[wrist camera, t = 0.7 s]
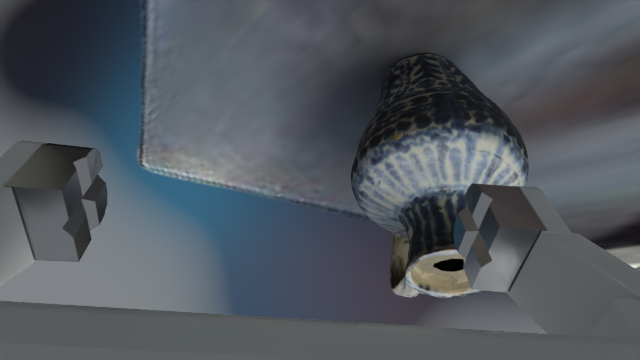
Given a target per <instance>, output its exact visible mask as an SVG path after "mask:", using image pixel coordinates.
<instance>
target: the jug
mask: <svg viewBox="0 0 640 360" xmlns="http://www.w3.org/2000/svg"><path fill="white" fill-rule="evenodd" d="M528 169H529V165H528V156H527V151H526V148H525V145H524V142H523V139H522V137H521V135H520V134H519V132H518V130H517V129H516V127H515V126H514V125H513V123H512V122H511V121H510V119H509V118H508V117H507V116H506V114H505V113H504V112H503V111H502V110H501V109H500V108H499V107H498V106H497V105H496V104H495V103H494V102H492V101H491V100H490V99H489V98H487V97H486V96H485V95H484V94H483V93H481V92H480V91H479V89H478V88H477V87H476V86H475V85H474V84H473V82H472V81H471V80H470V79H469V78H468V77H467V76H465V75H464V74H463V73H462V72H461V71H460V70H459V69H458V68H457V67H456V66H455V65H454V64H453V63H452V62H451V61H449V60H448V59H445V58H442V57H439V56H435V55H431V54H424V55H417V56H414V57H411V58H406V59H404V60H402V61H400V62H398V63H397V64H396V65H395V66H394V67H393V68H391V69H390V70H389V71H388V72H387V73H386V75H385V77H384V79H383V84H382V89H381V98H380V101H379V104H378V106H377V108H376V111H375V114H374V116H373V117H372V119H371V120H370V122H369V124H368V126H367V128H366V129H365V131H364V134H363V136H362V138H361V140H360V143H359V146H358V151H357V155H356V158H355V161H354V163H353V167H352V172H351V184H352V190H353V193H354V195H355V198H356V200H357V202H358V205H359V206H360V208H361V209H362V210H363V212H364V213H365V214H366V215H367V216H368V217H369V218H370V219H371V220H373V221H374V222H375V223H376V224H378V225H379V226H381V227H383V228H385V229H387V230H389V231H390V232H391V233H392V235H393V240H394V241H393V249H392V256H391V265H390V283H391V289H392V290H393V291H394V293H395V294H396V295H401V296H404V297H407V296H408V297H416V296H417V295H418V294H419V293H423V294H427V295H431V296H436V297H440V298H449V297H452V296H454V295H456V296H467V295H470V294H475V293H478V292H480V291H482V290H476V289H471V287H470V284H469V281H468V279H467V276H466V274H465V271H464V268H463V265H464V263H465V260H466V259H465V258H464V257H462V256H461V255H460V254H459V253H458V252H457V250H456V247H455V244H454V236H453V235H454V224H455V221H456V218H457V215H458V213H459V212H460V211H461V210H463V209H464V208H465V207H467V206H468V205H467V203H466V201H465V199H464V197H465V194H466V192H467V189H468V188H469V186H470V185H471V184H472V183H475V184H489V185H503V186H524V187H525V185H526V182H527V179H528Z"/></svg>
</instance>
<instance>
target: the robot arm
mask: <svg viewBox="0 0 640 360" xmlns="http://www.w3.org/2000/svg"><path fill="white" fill-rule="evenodd" d="M102 167H103V164H102V160H101V155H100V152H99V151H98V150H97V149H96V148H89V147H80V146H70V145H62V144H53V143H44V142H32V141H18V142H15V143H14V144H13V145H12V146H11V147H10V148H9V149H8V150H7V151H6V152H5V153H4V154H3V155H2V156H1V157H0V286H1V285H2V284H4V283H5V282H7V281H8V280H10V279H11V278H13V277H14V276H15V275H17V274H18V273H20V272H21V271H23V270H24V269H25V268H27V267H28V266H30V265H31V264H33V263H34V262H35V261H34V260H47V261H70V262H79V261H80V259H81V257H82V255H83V253H84V252H85V250H86V248H87V247H88V245H89V243H90V241H91V234H90V230H91V229H93V228H95V227H97V226H98V225H100V223H101V221H102V219H103V217H104V214H105V210H106V206H107V188H106V183H105V182H104V181H103V180H102V179H101V178H100V177H99V176H98V173H99V171H100V170H101V168H102ZM464 199H465V201H466V203H467V205H468V206H467V207H465V208H464V209H463V210H461V211H460V212H459V213H458V215H457V218H456V221H455V224H454V235H453V236H454V244H455V247H456V250H457V252H458V253H459V254H460V255H461V256H462V257H464V258H465V259H466V260H465V263H464V265H463V268H464V271H465V274H466V276H467V279H468V281H469V284H470V287H471V289H476V290H486V291H497V292H507V293H508V295H509V296H510V297H511V298H512V299H513V300H514V301H515V302H516V303H517V304H518V305H519V306H520V307H521V308H522V309H523V310H524V311H526V312H527V314H528V315H529V316H530V317H531V318H532V319H533V320H534V321H535V322H536V323H537V324H538V325H539V326H540V327H541V328H542V329H544V330H545V331H546V333H547V334H537V333H520V332H519V333H518V332H504V331H487V330H471V329H456V328H438V327H422V326H407V325H391V324H375V323H374V324H373V323H359V322H342V321H325V320H308V319H291V318H274V317H258V316H240V315H224V314H206V313H191V312H174V311H158V310H140V309H125V308H109V307H108V308H107V307H93V306H91V307H90V306H76V305H60V304H44V303H26V302H11V301H0V360H640V272H639V271H637V270H636V269H634V268H633V267H631V266H629V265H628V264H626V263H625V262H623V261H621V260H620V259H618V258H617V257H615V256H613V255H612V254H610V253H608V252H607V251H605V250H604V249H602V248H600V247H599V246H597V245H596V244H594V243H592V242H591V241H589V240H587V239H586V238H584V237H583V236H581V235H579V234H574V233H571V231H570V230H569V229H568V227H567V226H566V224H565V223H564V221H563V220H562V219H561V217H560V216H559V214H558V213H557V211H556V210H555V209H554V207H553V206H552V204H551V203H550V201H549V200H548V199H547V197H546V196H545V194H544V193H543V191H542V190H540V189H539V188H537V187H524V186H503V185H489V184H475V183H472V184H471V185H470V186H469V188H468V189H467V192H466V194H465V197H464Z"/></svg>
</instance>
